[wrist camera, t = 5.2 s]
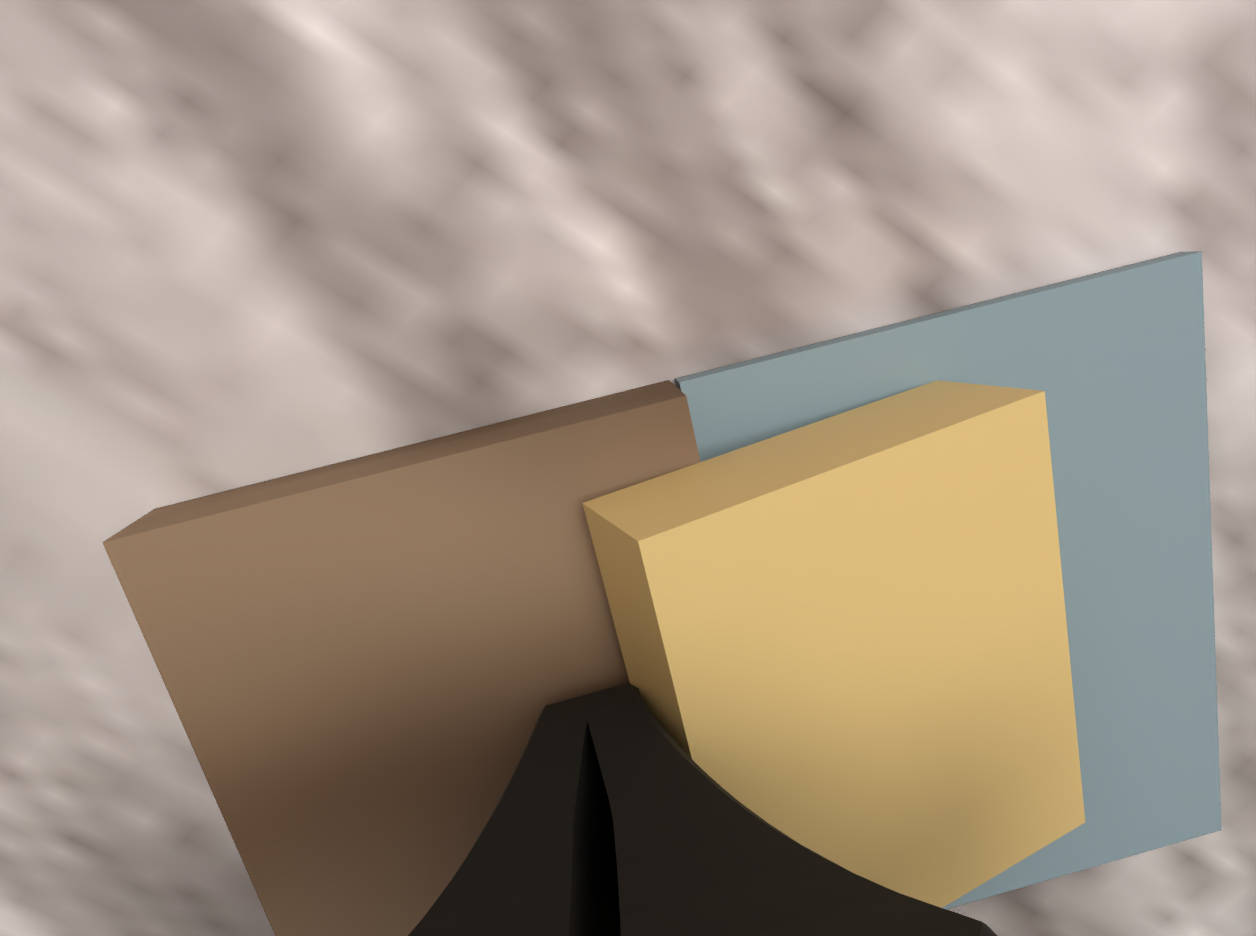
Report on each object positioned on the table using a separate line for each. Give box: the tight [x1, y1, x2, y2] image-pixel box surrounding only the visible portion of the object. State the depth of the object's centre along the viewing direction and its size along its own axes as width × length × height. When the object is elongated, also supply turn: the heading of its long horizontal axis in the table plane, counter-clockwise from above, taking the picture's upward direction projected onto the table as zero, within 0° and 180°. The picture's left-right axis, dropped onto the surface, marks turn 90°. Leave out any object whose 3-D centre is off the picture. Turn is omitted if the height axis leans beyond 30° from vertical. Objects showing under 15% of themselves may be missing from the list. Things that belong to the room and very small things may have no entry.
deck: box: [103, 380, 700, 936], centre depth 13 cm, size 11×8×2 cm
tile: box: [582, 380, 1085, 908], centre depth 12 cm, size 7×6×2 cm
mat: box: [675, 251, 1221, 909], centre depth 14 cm, size 11×8×1 cm
